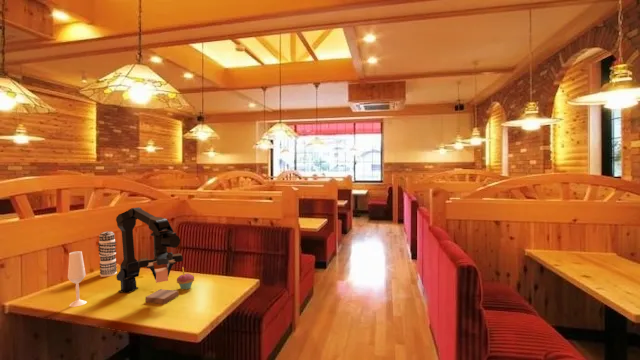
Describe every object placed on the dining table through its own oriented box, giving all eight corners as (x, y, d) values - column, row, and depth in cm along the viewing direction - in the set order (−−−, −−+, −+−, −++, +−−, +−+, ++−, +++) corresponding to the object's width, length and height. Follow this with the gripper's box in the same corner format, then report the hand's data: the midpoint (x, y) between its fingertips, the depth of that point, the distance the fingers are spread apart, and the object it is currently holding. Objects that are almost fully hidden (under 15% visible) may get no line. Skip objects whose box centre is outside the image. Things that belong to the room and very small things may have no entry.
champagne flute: (76, 300, 159) (74, 250, 158) (90, 300, 159) (88, 250, 158) (65, 306, 152) (62, 254, 151) (79, 306, 152) (77, 254, 151)
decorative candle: (103, 277, 191) (102, 234, 190) (96, 275, 196) (94, 232, 195) (120, 273, 199) (118, 231, 198) (112, 270, 204) (111, 230, 203)
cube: (156, 282, 156) (156, 272, 156) (155, 279, 160) (154, 269, 160) (168, 280, 158) (167, 270, 158) (166, 277, 163) (166, 267, 162)
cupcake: (188, 291, 169) (187, 268, 168) (173, 290, 171) (172, 267, 170) (197, 285, 177) (197, 263, 177) (183, 284, 179) (182, 262, 178)
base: (145, 302, 156) (145, 297, 156) (160, 294, 166) (160, 289, 166) (164, 304, 154) (164, 298, 154) (178, 295, 163) (178, 290, 163)
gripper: (139, 252, 147) (140, 287, 148) (184, 246, 157) (185, 279, 157) (137, 246, 156) (138, 279, 157) (180, 241, 166) (181, 272, 167)
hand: (161, 277), depth 159 cm, fingers closed on cube, 5 cm apart
